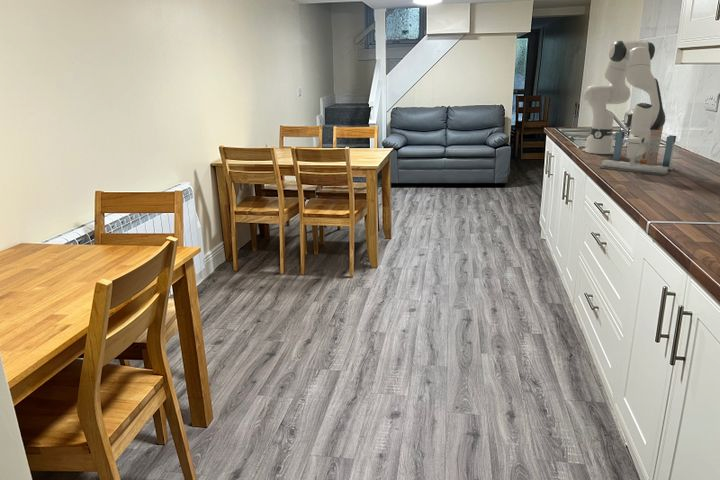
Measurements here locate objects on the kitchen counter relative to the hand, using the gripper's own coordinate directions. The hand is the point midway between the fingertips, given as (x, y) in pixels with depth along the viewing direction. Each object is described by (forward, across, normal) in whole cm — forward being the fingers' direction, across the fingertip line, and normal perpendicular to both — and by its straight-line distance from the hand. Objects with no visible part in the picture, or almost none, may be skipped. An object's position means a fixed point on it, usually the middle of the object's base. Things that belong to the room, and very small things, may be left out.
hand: (634, 165), depth 273 cm
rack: (+3, -12, 0) cm, 12 cm away
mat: (+3, 0, 0) cm, 3 cm away
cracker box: (+3, -26, -1) cm, 26 cm away
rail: (+2, 0, 0) cm, 2 cm away
